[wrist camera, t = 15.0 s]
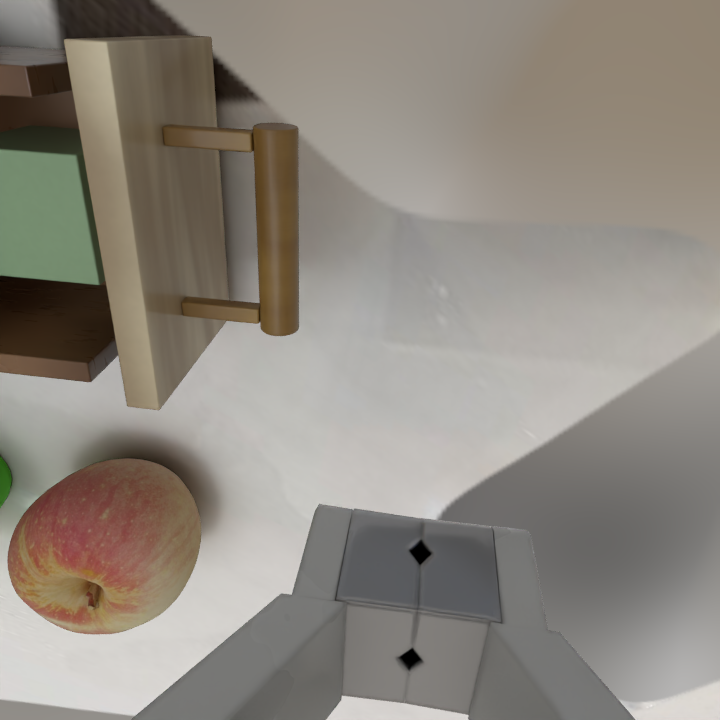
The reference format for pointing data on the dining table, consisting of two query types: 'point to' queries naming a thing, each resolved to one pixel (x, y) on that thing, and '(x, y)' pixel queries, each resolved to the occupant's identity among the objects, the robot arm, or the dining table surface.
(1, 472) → the cup
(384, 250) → the dining table surface
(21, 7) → the dining table surface
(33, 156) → the block
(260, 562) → the dining table surface
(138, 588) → the apple
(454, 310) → the dining table surface
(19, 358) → the drawer
